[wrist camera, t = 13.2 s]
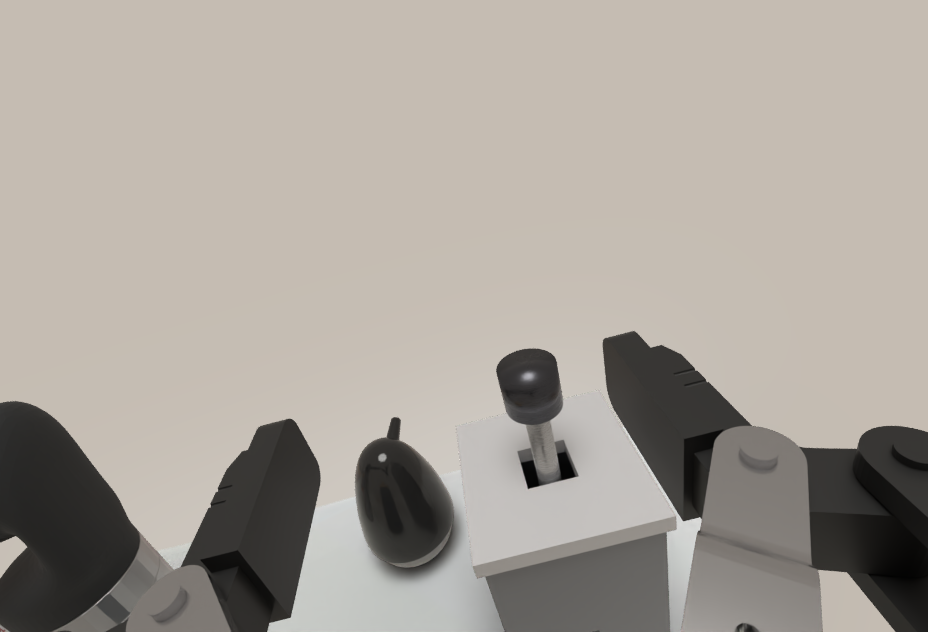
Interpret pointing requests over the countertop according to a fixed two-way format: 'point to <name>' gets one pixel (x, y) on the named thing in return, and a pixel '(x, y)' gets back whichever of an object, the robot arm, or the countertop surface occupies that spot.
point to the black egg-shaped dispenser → (401, 502)
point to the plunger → (534, 404)
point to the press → (567, 524)
